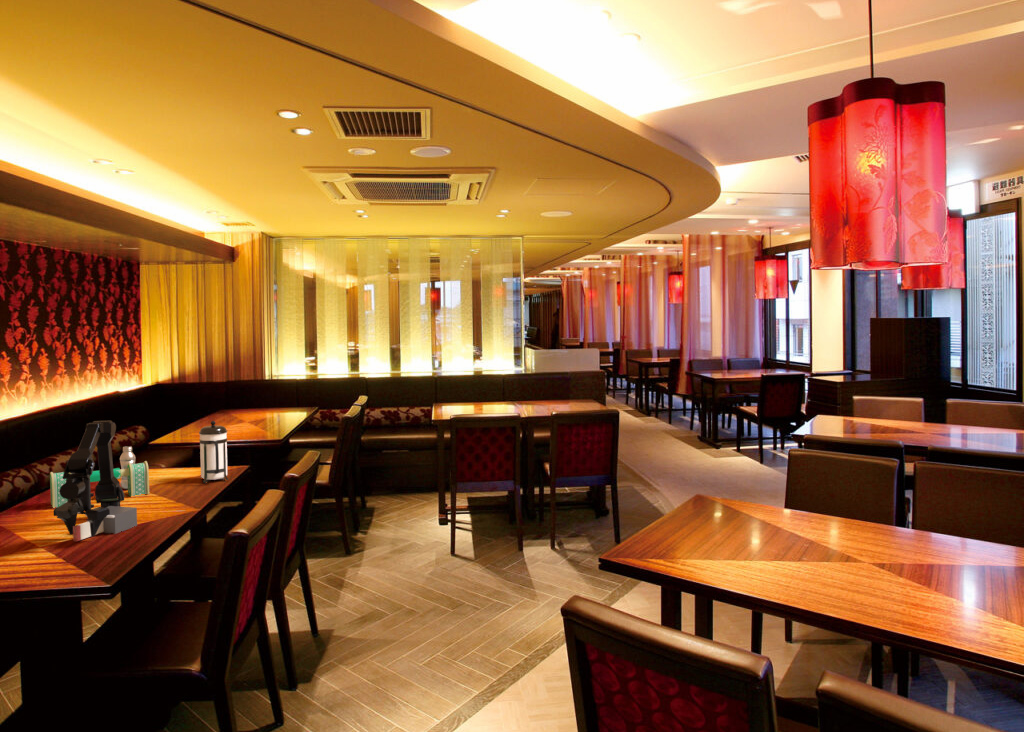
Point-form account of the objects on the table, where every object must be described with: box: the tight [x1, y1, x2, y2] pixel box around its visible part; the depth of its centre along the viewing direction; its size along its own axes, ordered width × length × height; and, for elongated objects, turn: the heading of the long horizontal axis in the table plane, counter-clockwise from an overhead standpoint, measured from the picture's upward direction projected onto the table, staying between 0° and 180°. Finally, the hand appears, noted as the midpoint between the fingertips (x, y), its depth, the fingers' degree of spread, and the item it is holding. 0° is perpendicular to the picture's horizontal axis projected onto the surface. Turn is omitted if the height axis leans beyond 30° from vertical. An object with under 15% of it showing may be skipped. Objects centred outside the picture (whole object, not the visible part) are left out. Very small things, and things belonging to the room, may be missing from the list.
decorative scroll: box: [49, 460, 150, 509], centre depth 279 cm, size 36×8×15 cm, turn 131°
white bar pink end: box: [72, 519, 104, 542], centre depth 231 cm, size 19×1×5 cm, turn 167°
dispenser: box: [84, 506, 138, 535], centre depth 237 cm, size 11×12×7 cm
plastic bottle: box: [119, 445, 136, 490], centre depth 298 cm, size 6×7×20 cm
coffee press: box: [198, 420, 229, 484], centre depth 314 cm, size 17×16×30 cm
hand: (82, 535), depth 225 cm, fingers open, 9 cm apart
